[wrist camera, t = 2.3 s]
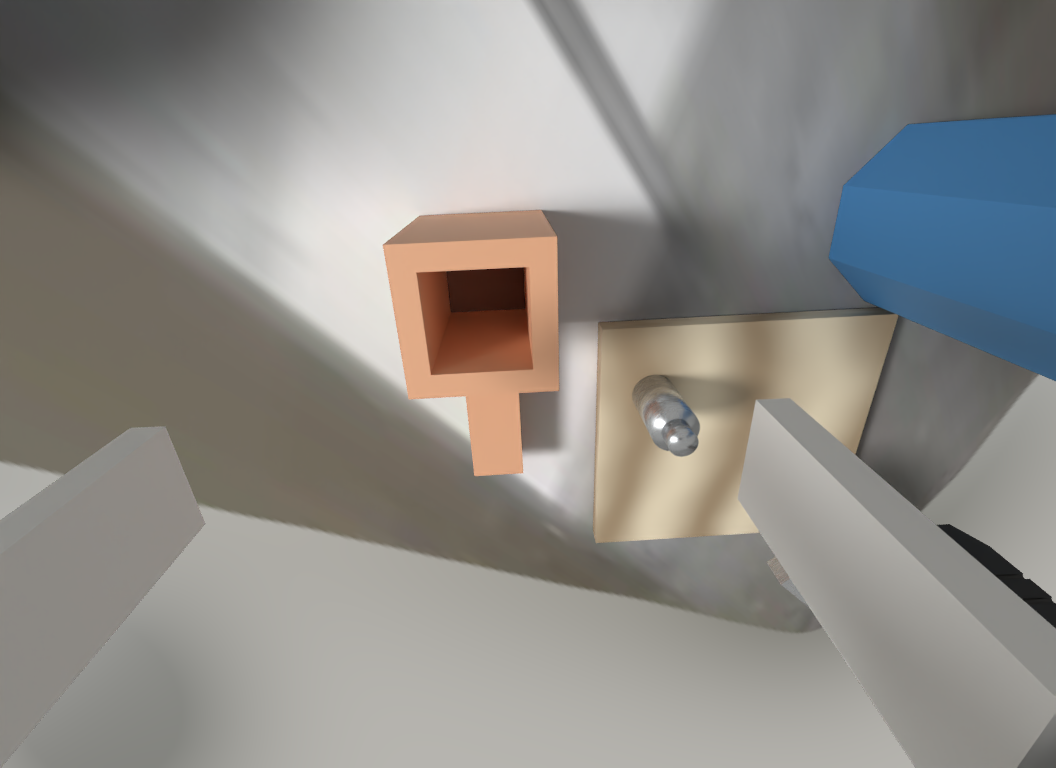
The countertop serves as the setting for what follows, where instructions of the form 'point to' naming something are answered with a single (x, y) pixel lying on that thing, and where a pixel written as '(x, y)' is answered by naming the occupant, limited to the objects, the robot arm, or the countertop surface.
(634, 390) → the pintle
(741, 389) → the board
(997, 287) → the water bottle
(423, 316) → the link
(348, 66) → the countertop surface
